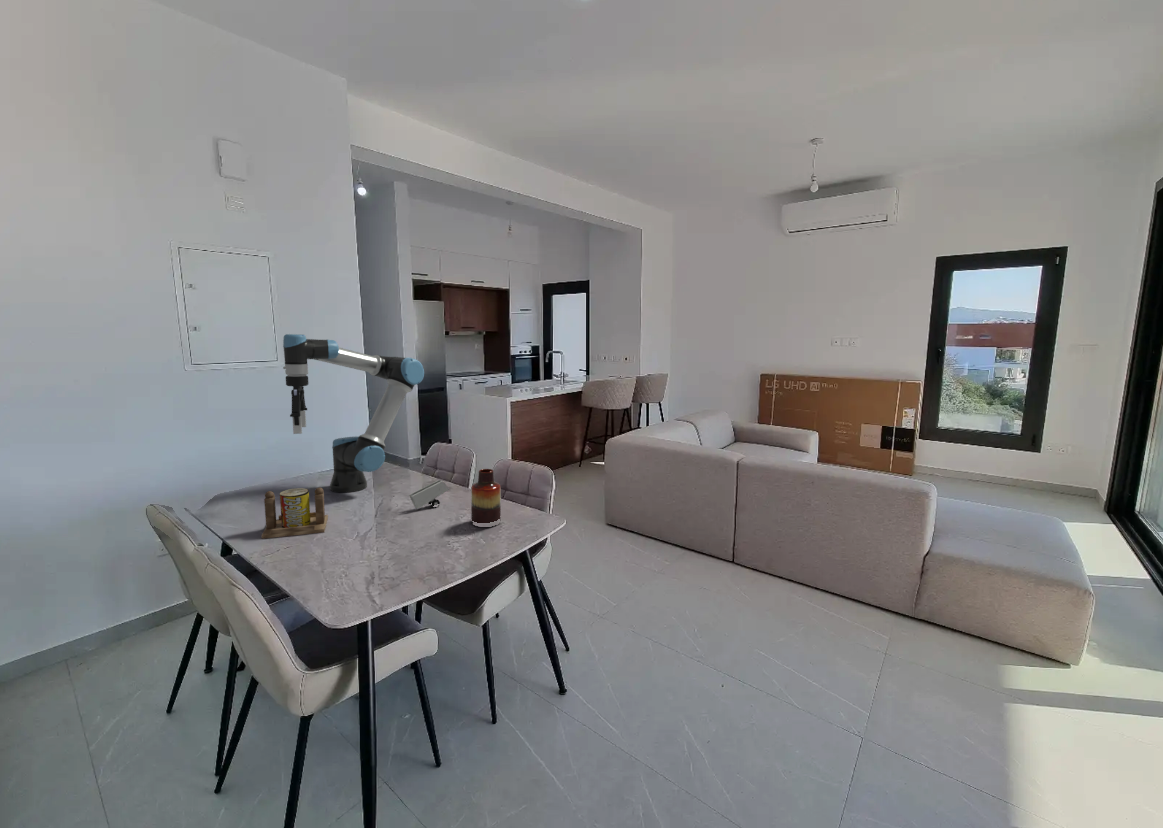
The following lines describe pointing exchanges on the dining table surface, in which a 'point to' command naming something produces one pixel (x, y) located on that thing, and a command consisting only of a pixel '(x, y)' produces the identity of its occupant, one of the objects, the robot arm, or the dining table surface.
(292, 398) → the robot arm
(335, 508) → the dining table surface
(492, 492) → the vase
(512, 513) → the dining table surface
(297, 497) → the beverage can
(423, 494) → the grey toy trailer
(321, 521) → the knobbed wooden cradle
